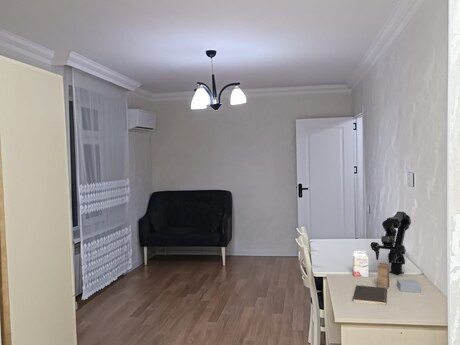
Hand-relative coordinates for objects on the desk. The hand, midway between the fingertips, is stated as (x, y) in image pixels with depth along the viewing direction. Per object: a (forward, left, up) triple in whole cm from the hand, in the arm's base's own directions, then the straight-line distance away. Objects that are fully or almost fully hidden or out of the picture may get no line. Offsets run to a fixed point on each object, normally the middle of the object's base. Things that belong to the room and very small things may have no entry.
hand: (385, 261), depth 261 cm
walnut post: (+7, +4, -13) cm, 15 cm away
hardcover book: (+25, +10, -14) cm, 30 cm away
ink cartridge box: (-1, -19, -13) cm, 23 cm away
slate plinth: (-1, +14, -13) cm, 19 cm away
